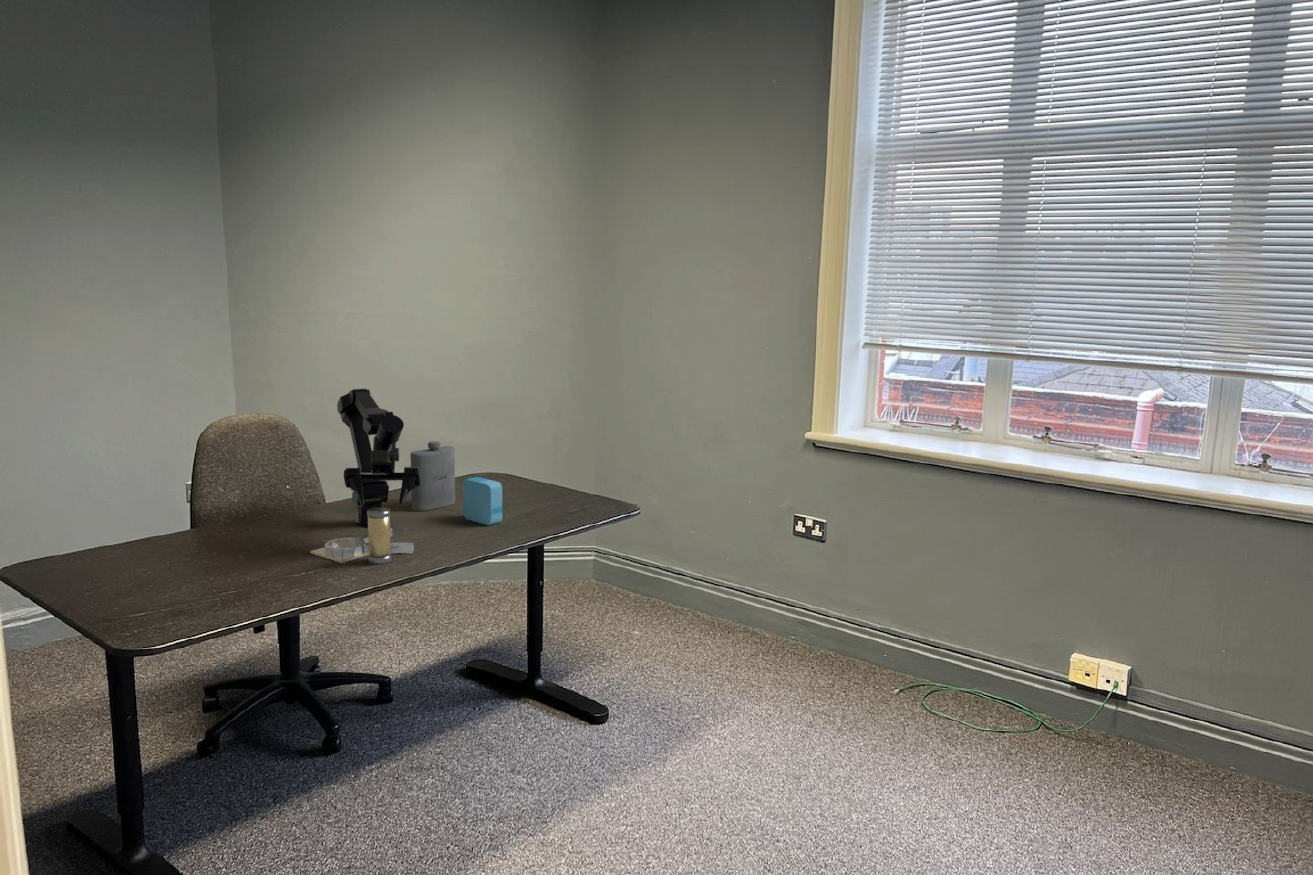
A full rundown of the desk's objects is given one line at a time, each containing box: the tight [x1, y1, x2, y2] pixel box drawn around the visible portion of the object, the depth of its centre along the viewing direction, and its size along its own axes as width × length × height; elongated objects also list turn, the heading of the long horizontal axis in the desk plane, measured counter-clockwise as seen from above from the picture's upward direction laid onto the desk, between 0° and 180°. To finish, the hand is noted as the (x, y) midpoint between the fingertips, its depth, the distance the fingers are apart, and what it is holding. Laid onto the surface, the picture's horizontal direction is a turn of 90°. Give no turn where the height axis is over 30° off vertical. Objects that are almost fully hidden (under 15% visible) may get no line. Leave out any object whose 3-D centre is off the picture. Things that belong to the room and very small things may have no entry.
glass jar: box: [367, 506, 392, 565], centre depth 229 cm, size 5×5×13 cm
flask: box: [410, 440, 456, 512], centre depth 279 cm, size 15×6×20 cm, turn 141°
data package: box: [462, 476, 503, 526], centre depth 266 cm, size 12×4×12 cm, turn 51°
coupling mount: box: [309, 527, 414, 564], centre depth 238 cm, size 20×23×2 cm
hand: (381, 505), depth 234 cm, fingers open, 9 cm apart
